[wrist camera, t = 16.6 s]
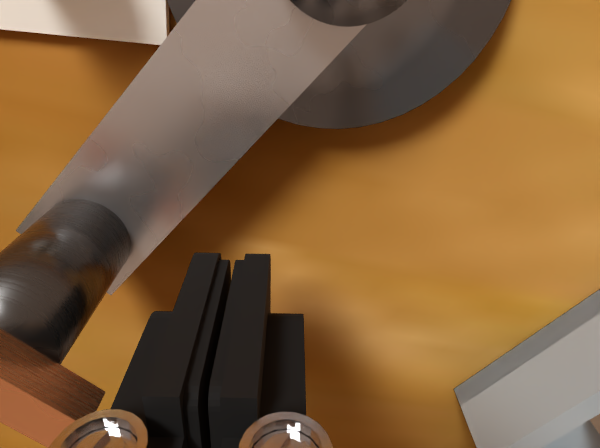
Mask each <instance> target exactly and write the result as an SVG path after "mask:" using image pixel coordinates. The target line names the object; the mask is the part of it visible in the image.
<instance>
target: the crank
mask: <svg viewBox="0 0 600 448" xmlns="http://www.w3.org/2000/svg"><path fill="white" fill-rule="evenodd" d="M406 1H407V0H195V2H194V3H193V4H192V5H191V7H190V8H189V9H188V11H187V12H186V13H185V14H184V16H183V17H182V18H181V20H180V21H179V22H178V23H177V25H176V26H175V27H174V29H173V30H172V31H171V32H170V34H169V35H168V36H167V37H166V39H165V40H164V41H163V43H162V44H161V45H160V46H159V48H158V49H157V50H156V52H155V53H154V54H153V55H152V57H151V58H150V59H149V61H148V62H147V63H146V64H145V66H144V67H143V68H142V70H141V71H140V72H139V73H138V75H137V76H136V77H135V79H134V80H133V81H132V82H131V84H130V85H129V86H128V87H127V89H126V90H125V91H124V93H123V94H122V95H121V96H120V98H119V99H118V100H117V102H116V103H115V104H114V105H113V107H112V108H111V109H110V111H109V112H108V113H107V114H106V116H105V117H104V118H103V120H102V121H101V122H100V123H99V125H98V126H97V127H96V129H95V130H94V131H93V132H92V134H91V135H90V136H89V137H88V139H87V140H86V141H85V143H84V144H83V145H82V146H81V148H80V149H79V150H78V152H77V153H76V154H75V155H74V157H73V158H72V159H71V161H70V162H69V163H68V164H67V166H66V167H65V168H64V170H63V171H62V172H61V173H60V175H59V176H58V177H57V179H56V180H55V181H54V182H53V184H52V185H51V186H50V187H49V189H48V190H47V191H46V193H45V194H44V195H43V196H42V198H41V199H40V200H39V202H38V203H37V204H36V205H35V207H34V208H33V209H32V211H31V212H30V213H29V214H28V216H27V217H26V218H25V220H24V221H23V222H22V223H21V225H20V226H19V227H18V229H17V230H16V231H17V232H19V233H20V234H21V235H20V236H19V237H17V238H16V239H15V240H14V241H13V242H12V243H11V244H9V245H8V246H7V247H6V248H5V249H4V250H3V251H1V252H0V422H1V423H3V424H5V425H7V426H9V427H10V428H12V429H14V430H16V431H18V432H20V433H22V434H24V435H25V436H27V437H29V438H31V439H33V440H35V441H37V442H38V443H40V444H42V445H44V446H46V447H48V448H49V446H50V445H51V444H52V442H53V441H54V440H55V439H56V437H57V436H58V435H59V434H60V433H61V432H62V431H63V430H64V429H65V428H66V427H68V426H69V425H70V424H72V423H73V422H74V421H76V420H77V419H79V418H82V417H84V416H86V415H88V414H90V413H93V412H96V410H97V408H98V406H99V404H100V402H101V400H102V398H103V396H104V394H105V391H103V390H101V389H100V388H98V387H96V386H95V385H93V384H91V383H90V382H88V381H86V380H85V379H83V378H81V377H80V376H78V375H76V374H75V373H73V372H72V371H70V370H68V369H67V368H65V367H63V366H62V365H60V364H61V362H62V361H63V359H64V358H65V356H66V355H67V353H68V352H69V350H70V348H71V347H72V345H73V344H74V342H75V341H76V339H77V337H78V336H79V334H80V333H81V331H82V330H83V328H84V327H85V325H86V323H87V322H88V320H89V319H90V317H91V316H92V314H93V312H94V311H95V309H96V308H97V306H98V305H99V303H100V302H101V300H102V298H103V297H104V295H105V294H106V292H107V293H108V294H110V295H112V294H113V293H114V292H115V291H116V289H117V288H118V287H119V286H120V285H121V284H122V283H123V282H124V281H125V280H126V279H127V278H128V277H129V276H130V275H131V274H132V273H133V271H134V270H135V269H136V268H137V267H138V266H139V265H140V264H141V263H142V262H143V261H144V260H145V259H146V258H147V257H148V256H149V255H150V253H151V252H152V251H153V250H154V249H155V248H156V247H157V246H158V245H159V244H160V243H161V242H162V241H163V240H164V239H165V238H166V236H167V235H168V234H169V233H170V232H171V231H172V230H173V229H174V228H175V227H176V226H177V225H178V224H179V223H180V222H181V221H182V220H183V218H184V217H185V216H186V215H187V214H188V213H189V212H190V211H191V210H192V209H193V208H194V207H195V206H196V205H197V204H198V203H199V202H200V200H201V199H202V198H203V197H204V196H205V195H206V194H207V193H208V192H209V191H210V190H211V189H212V188H213V187H214V186H215V185H216V184H217V182H218V181H219V180H220V179H221V178H222V177H223V176H224V175H225V174H226V173H227V172H228V171H229V170H230V169H231V168H232V167H233V165H234V164H235V163H236V162H237V161H238V160H239V159H240V158H241V157H242V156H243V155H244V154H245V153H246V152H247V151H248V150H249V149H250V147H251V146H252V145H253V144H254V143H255V142H256V141H257V140H258V139H259V138H260V137H261V136H262V135H263V134H264V133H265V132H266V131H267V129H268V128H269V127H270V126H271V125H272V124H273V123H274V122H275V121H276V120H277V119H278V118H279V117H280V116H281V115H282V114H283V112H284V111H285V110H286V109H287V108H288V107H289V106H290V105H291V104H292V103H293V102H294V101H295V100H296V99H297V98H298V97H299V96H300V94H301V93H302V92H303V91H304V90H305V89H306V88H307V87H308V86H309V85H310V84H311V83H312V82H313V81H314V80H315V79H316V78H317V76H318V75H319V74H320V73H321V72H322V71H323V70H324V69H325V68H326V67H327V66H328V65H329V64H330V63H331V62H332V61H333V60H334V58H335V57H336V56H337V55H338V54H339V53H340V52H341V51H342V50H343V49H344V48H345V47H346V46H347V45H348V44H349V43H350V41H351V40H352V39H353V38H354V37H355V36H356V35H357V34H358V33H359V32H360V31H361V30H362V29H363V28H364V27H365V26H366V25H367V24H370V23H372V22H375V21H378V20H380V19H382V18H384V17H386V16H388V15H390V14H391V13H392V12H394V11H395V10H397V9H398V8H399V7H401V6H402V5H403V4H404V3H405V2H406Z"/></svg>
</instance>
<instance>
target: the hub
mask: <svg viewBox="0 0 600 448" xmlns="http://www.w3.org/2000/svg"><path fill="white" fill-rule="evenodd" d="M510 1H511V0H407V1H406V2H405V3H404V4H403V5H402V6H401V7H399V8H398V9H397V10H395V11H394V12H392V13H391V14H390V15H388V16H386V17H384V18H382V19H380V20H378V21H375V22H372V23H370V24H367V25H366V26H365V27H364V28H363V29H362V30H361V31H360V32H359V33H358V34H357V35H356V36H355V37H354V38H353V39H352V40H351V41H350V43H349V44H348V45H347V46H346V47H345V48H344V49H343V50H342V51H341V52H340V53H339V54H338V55H337V56H336V57H335V58H334V60H333V61H332V62H331V63H330V64H329V65H328V66H327V67H326V68H325V69H324V70H323V71H322V72H321V73H320V74H319V75H318V76H317V78H316V79H315V80H314V81H313V82H312V83H311V84H310V85H309V86H308V87H307V88H306V89H305V90H304V91H303V92H302V93H301V94H300V96H299V97H298V98H297V99H296V100H295V101H294V102H293V103H292V104H291V105H290V106H289V107H288V108H287V109H286V110H285V111H284V112H283V114H282V115H281V116H280V117H279V118H278V119H281V120H284V121H288V122H291V123H294V124H298V125H303V126H309V127H315V128H330V129H343V128H354V127H362V126H367V125H371V124H376V123H380V122H383V121H386V120H389V119H392V118H394V117H397V116H400V115H402V114H404V113H406V112H408V111H410V110H412V109H414V108H416V107H418V106H420V105H422V104H423V103H425V102H426V101H428V100H429V99H431V98H432V97H434V96H436V95H437V94H439V93H440V92H441V91H442V90H444V89H445V88H446V87H447V86H448V85H450V84H451V83H452V82H453V81H454V80H455V79H457V78H458V77H459V76H460V75H461V74H462V73H463V72H464V71H465V69H466V68H467V67H468V66H469V65H470V64H471V63H472V62H473V61H474V60H475V59H476V57H477V56H478V55H479V53H480V52H481V51H482V49H483V48H484V47H485V45H486V44H487V43H488V41H489V40H490V39H491V37H492V35H493V34H494V32H495V30H496V29H497V27H498V25H499V23H500V22H501V20H502V18H503V17H504V15H505V12H506V10H507V8H508V6H509V4H510ZM167 2H168V5H169V7H170V9H171V11H172V14H173V16H174V18H175V20H176V23H178V22H179V21H180V20H181V18H182V17H183V16H184V14H185V13H186V12H187V11H188V9H189V8H190V7H191V5H192V4H193V3H194V2H195V0H167Z"/></svg>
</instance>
